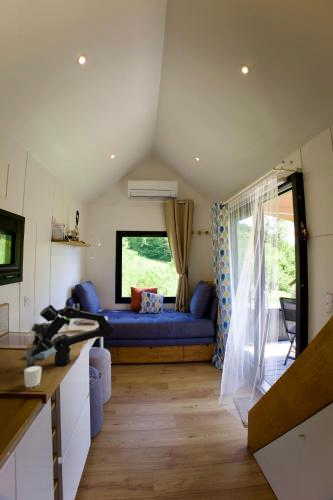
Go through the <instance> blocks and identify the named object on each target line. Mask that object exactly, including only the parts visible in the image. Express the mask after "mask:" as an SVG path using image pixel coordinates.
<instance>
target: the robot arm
mask: <svg viewBox="0 0 333 500" xmlns="http://www.w3.org/2000/svg"><path fill="white" fill-rule="evenodd" d="M39 315H40V317H42V318H43V319H44V320H45V321H47V322H49V323H50V324H46V325H44V324H40V323H39V324H38V323H33V324H34V325H33V326H32V328H31V330H32V332H34V339H33V341H32V342H31V344H33V343H34V344H36V347H35V348H36V349H35V350H34V351H33V353H32V354H31V356H32V357H33V356H35V355H37V354H39V353H41V352H43V351H45V350H48V349H51V348H52V347H54V348H55V355H54V363H53V366H56V367H57V366H59V367H66V366H68V365H69V364H70V363H71V362H72V360H71V359H70V356H71V346H72V345H76V344H78V343H83V342H85V341H88V340H92V339H95V338H101V337H102V338H107V337H108V338H109V337H111V336H112V335H113V334H114V328H113V327H112V326H111V325H110V323H109V322H108V321H107V319H106V317H105V315H103V314H100V313H94V312H89V311H83V310H80V309H78V308H75V307H72V306H69V305H66V306H65V307H63V308H60V309H56V308H54V306H53V305H52V304H49V305H48V306H46V307H45V308H43V309H42V310H41V311H40V313H39ZM71 319H84V320H88V321H89V320H90V321H95V322H97V325H98V327H96V328H95V329H92V330H88V331H85V332H82V333H78V334H74V335H70V336H68V334H66V333H62V334H61V335H58V334H59V331H61V329H62V328H63V327H64V326H65V325H67V326H70V320H71ZM56 335H57V336H56ZM55 336H56V337H55Z"/></svg>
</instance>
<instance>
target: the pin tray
mask: <svg viewBox="0 0 333 500" xmlns="http://www.w3.org/2000/svg"><path fill="white" fill-rule="evenodd" d="M35 349H36V348H35ZM54 354H56V350H55V348H54V347H52V348H51V349H48V350H45V351H43V352H41V353H39V354H37V355H35V360H42V361H44V360H46V359H48V358H49V357H51V356H53V355H54ZM25 359H26V360H27V351H25Z"/></svg>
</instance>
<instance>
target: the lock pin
mask: <svg viewBox="0 0 333 500" xmlns="http://www.w3.org/2000/svg"><path fill="white" fill-rule="evenodd" d="M32 343H33V342H32ZM32 343H27V344H25V345H26V347H25V348H26V352H27V359H26V367H25V368H23V371H24V370H25V369H26V368H28V367H32V366H36V359H35V356H33V357H32V356H31V354H32V353H33V351H34V350H35V347H36V344H34V343H33V344H32Z"/></svg>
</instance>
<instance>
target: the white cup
mask: <svg viewBox="0 0 333 500" xmlns="http://www.w3.org/2000/svg"><path fill="white" fill-rule="evenodd" d="M25 368H26V367H25ZM25 368H24V369H25ZM24 369H23V374H24V375H23V377H24V387H25V386H26V387H33V386H36V385H38V384H39V383H40V384H41V376H42V371H43V370H42V369H43V367H42V366H41V365H35V366H32V367H28V368H26V369H25V370H24ZM40 384H39V385H40Z"/></svg>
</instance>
